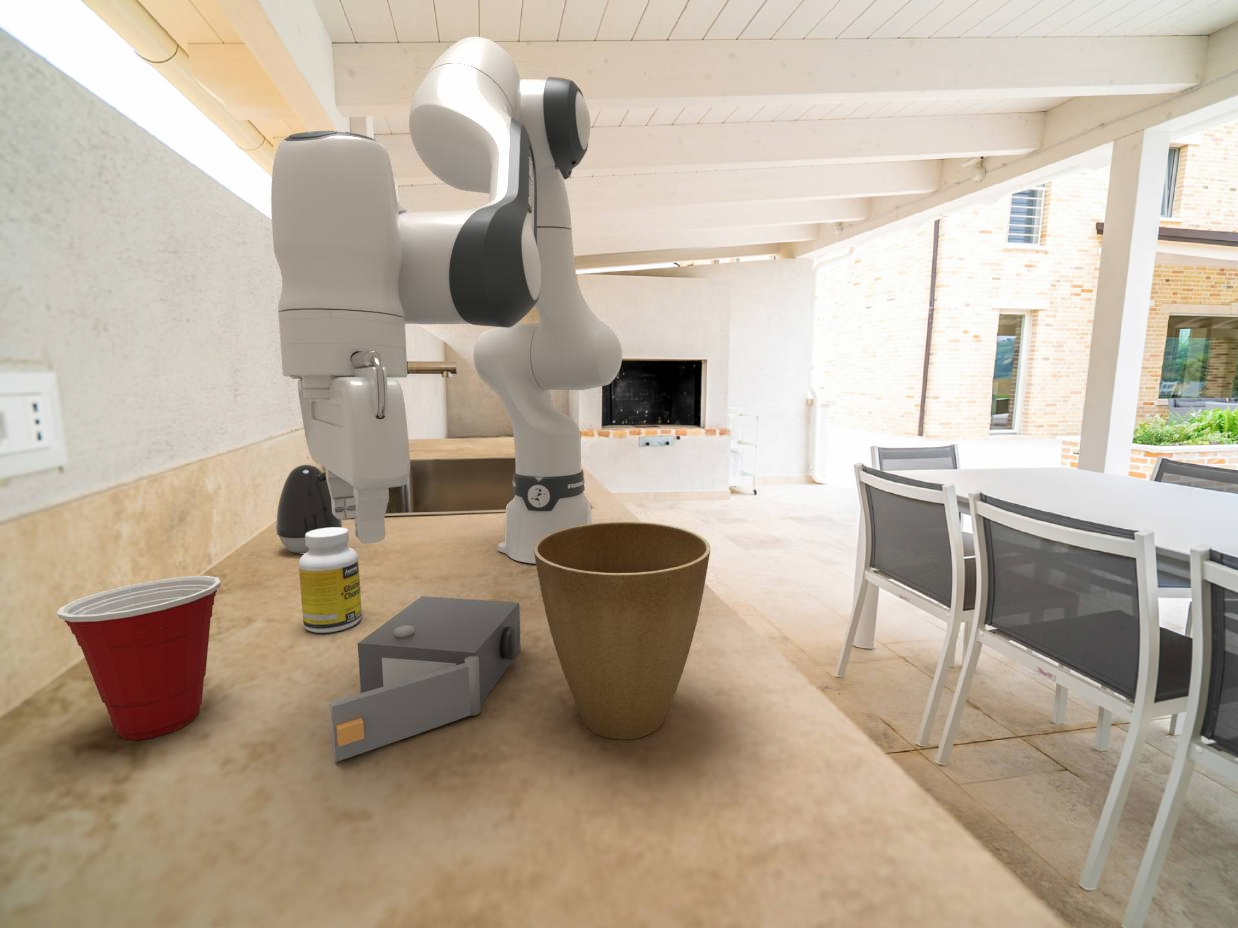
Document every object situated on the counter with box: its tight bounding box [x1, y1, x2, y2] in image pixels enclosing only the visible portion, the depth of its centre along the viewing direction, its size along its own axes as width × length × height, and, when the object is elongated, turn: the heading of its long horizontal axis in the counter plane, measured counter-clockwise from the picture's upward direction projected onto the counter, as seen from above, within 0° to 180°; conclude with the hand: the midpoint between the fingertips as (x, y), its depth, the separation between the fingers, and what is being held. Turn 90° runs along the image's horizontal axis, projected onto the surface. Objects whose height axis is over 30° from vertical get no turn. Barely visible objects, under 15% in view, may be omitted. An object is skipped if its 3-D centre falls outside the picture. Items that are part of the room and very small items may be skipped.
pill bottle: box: [298, 527, 363, 634], centre depth 70 cm, size 6×6×12 cm
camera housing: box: [357, 595, 522, 706], centre depth 59 cm, size 12×12×6 cm
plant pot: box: [534, 521, 711, 740], centre depth 50 cm, size 15×15×16 cm
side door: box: [329, 656, 481, 763], centre depth 48 cm, size 2×12×5 cm, turn 126°
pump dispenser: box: [275, 464, 343, 554], centre depth 101 cm, size 10×10×15 cm
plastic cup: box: [56, 575, 222, 741], centre depth 50 cm, size 11×11×12 cm
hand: (356, 528), depth 47 cm, fingers open, 8 cm apart
